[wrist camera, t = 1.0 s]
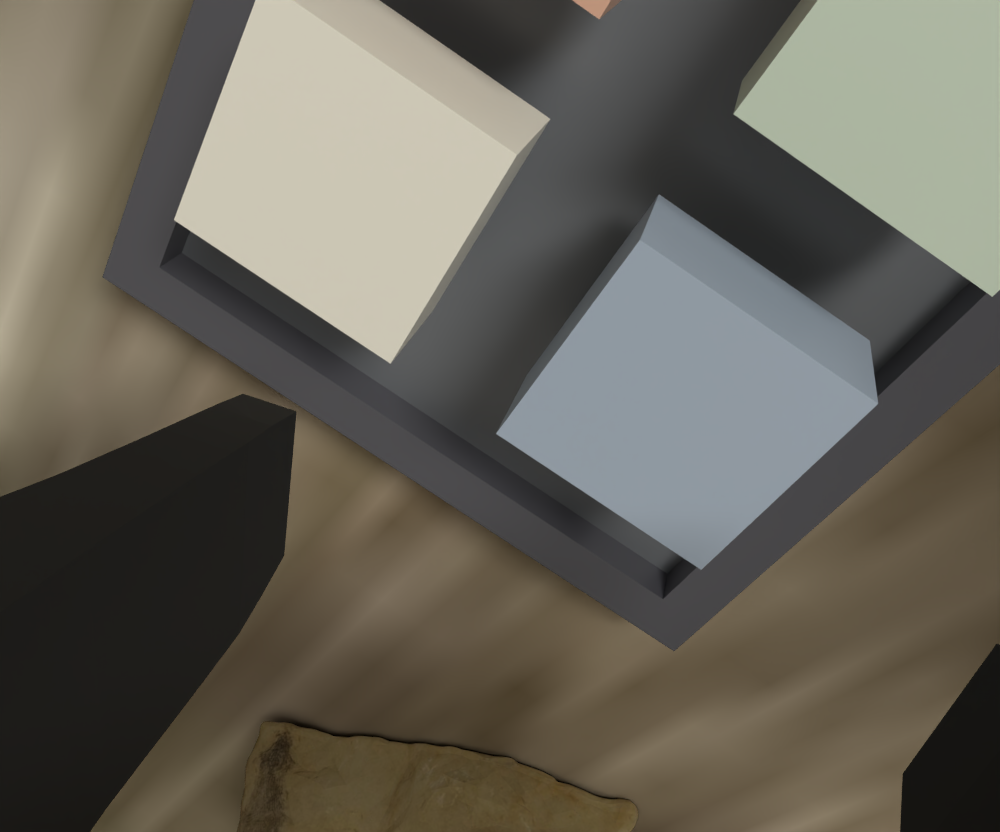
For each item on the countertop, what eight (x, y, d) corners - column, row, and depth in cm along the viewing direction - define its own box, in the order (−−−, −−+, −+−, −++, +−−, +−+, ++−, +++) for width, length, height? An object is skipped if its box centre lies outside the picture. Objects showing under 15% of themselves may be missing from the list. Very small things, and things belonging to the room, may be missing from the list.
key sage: (1228, -18, 11) (1301, 6, 9) (969, 241, 13) (991, 296, 12) (960, -218, 11) (988, -231, 9) (742, 80, 13) (732, 113, 11)
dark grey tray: (1589, -258, 11) (1725, -275, 9) (684, 589, 21) (673, 651, 20) (623, -1028, 10) (589, -1197, 9) (159, 242, 20) (102, 276, 19)
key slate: (869, 340, 15) (878, 404, 13) (710, 498, 17) (701, 569, 15) (659, 194, 14) (640, 239, 13) (526, 375, 17) (496, 433, 15)
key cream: (550, 118, 14) (517, 155, 12) (432, 311, 16) (390, 364, 15) (327, -37, 14) (263, -20, 12) (238, 181, 16) (173, 220, 14)
